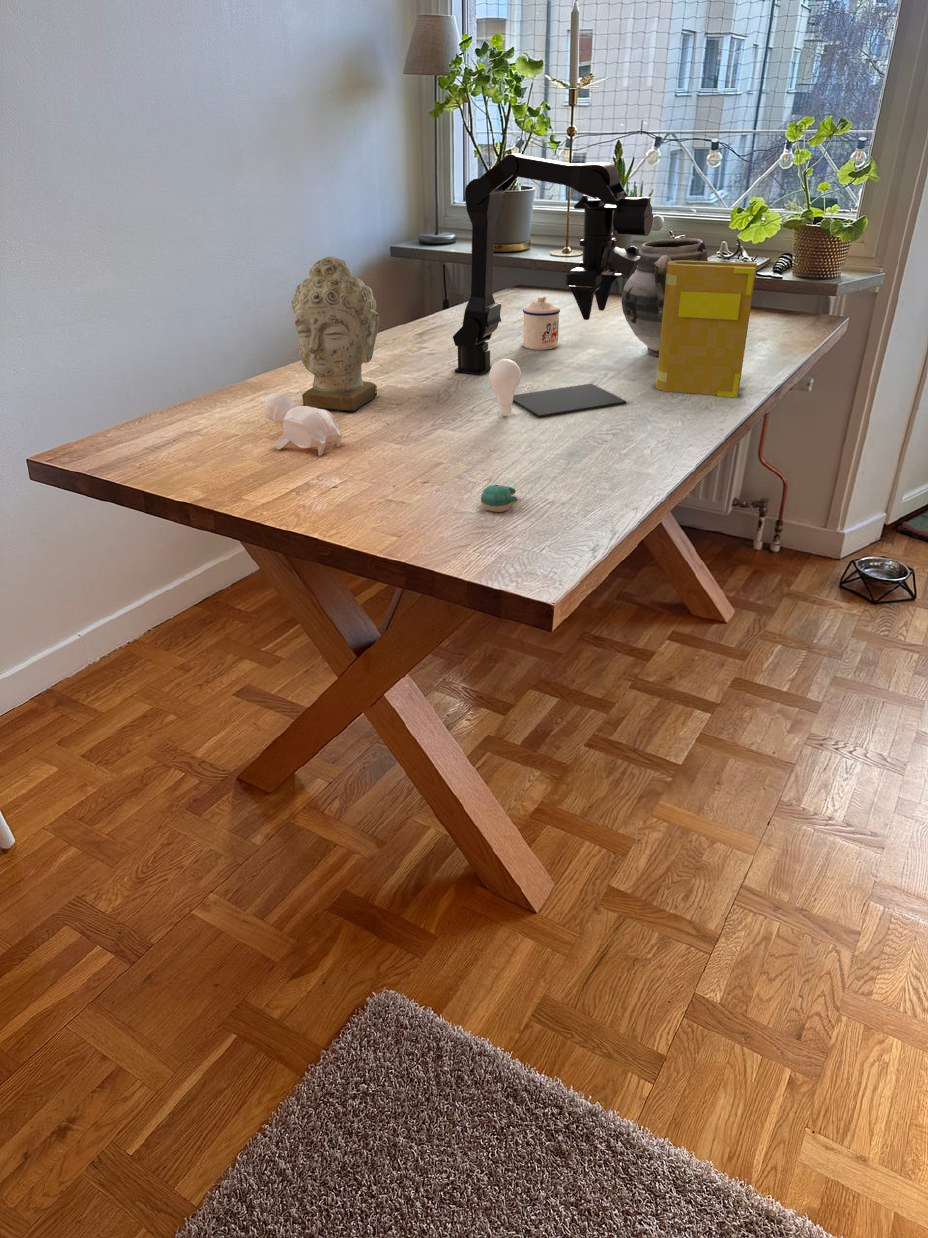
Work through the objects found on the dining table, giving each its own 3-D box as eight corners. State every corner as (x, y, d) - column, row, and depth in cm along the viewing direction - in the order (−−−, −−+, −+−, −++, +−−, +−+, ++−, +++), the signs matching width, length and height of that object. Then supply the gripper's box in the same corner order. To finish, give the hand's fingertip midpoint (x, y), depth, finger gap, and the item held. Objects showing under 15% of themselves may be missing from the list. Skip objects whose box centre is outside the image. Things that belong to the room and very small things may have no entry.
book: (739, 388, 189) (757, 262, 176) (736, 397, 184) (754, 268, 171) (658, 381, 194) (670, 259, 181) (653, 390, 188) (665, 264, 176)
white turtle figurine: (341, 458, 166) (280, 417, 169) (351, 419, 160) (287, 377, 164) (311, 473, 160) (248, 430, 163) (320, 433, 154) (255, 390, 158)
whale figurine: (472, 510, 137) (472, 487, 135) (492, 493, 143) (492, 471, 141) (507, 517, 135) (508, 493, 133) (526, 499, 140) (526, 476, 138)
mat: (507, 398, 186) (507, 395, 185) (590, 385, 192) (591, 383, 192) (538, 417, 175) (538, 415, 174) (626, 403, 181) (626, 401, 181)
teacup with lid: (546, 352, 217) (548, 302, 211) (515, 347, 222) (515, 298, 216) (571, 341, 225) (573, 293, 219) (540, 337, 230) (542, 289, 224)
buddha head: (282, 411, 181) (264, 263, 166) (325, 385, 196) (312, 248, 181) (358, 419, 176) (346, 267, 161) (396, 392, 191) (388, 251, 176)
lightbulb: (510, 422, 172) (511, 365, 167) (483, 417, 175) (483, 361, 169) (526, 413, 177) (527, 357, 171) (499, 409, 180) (499, 353, 174)
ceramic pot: (701, 372, 200) (715, 252, 187) (602, 363, 208) (609, 247, 195) (725, 342, 222) (739, 233, 209) (635, 334, 230) (643, 229, 217)
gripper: (621, 242, 167) (616, 328, 175) (651, 228, 181) (645, 308, 189) (566, 239, 172) (563, 323, 180) (599, 226, 186) (595, 304, 194)
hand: (594, 314), depth 186 cm, fingers open, 9 cm apart
